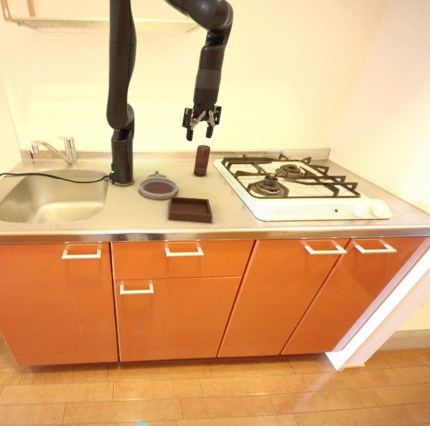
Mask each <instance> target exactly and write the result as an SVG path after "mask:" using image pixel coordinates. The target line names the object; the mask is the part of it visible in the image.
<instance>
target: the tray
mask: <svg viewBox="0 0 430 426" xmlns="http://www.w3.org/2000/svg"><path fill="white" fill-rule="evenodd" d="M168 206H169V208H168V220H169V221H179V222H180V221H182V222H191V223H192V222H193V223H206V224H211V223H212V220H213V212H212V209H211V204H210V200H209V198H197V197H184V196H173V197H170V198H169V205H168Z"/></svg>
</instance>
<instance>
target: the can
mask: <svg viewBox="0 0 430 426" xmlns="http://www.w3.org/2000/svg"><path fill="white" fill-rule="evenodd" d="M210 154H211V147H210V146H209V145H205V144H200V145H198V146H197V148H196V153H195V160H194V167H193V175H194V176H196V177H198V178H199V177H201V178H202V177H205V176H206V175H207V171H208V165H209V159H210Z"/></svg>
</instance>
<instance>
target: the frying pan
mask: <svg viewBox="0 0 430 426" xmlns="http://www.w3.org/2000/svg"><path fill="white" fill-rule="evenodd" d="M159 172H160V171H159V170H158V169H156V170H155V173H153V174H148V178H146V179H142V180H141V181H140V182H139V184H138V190H139V191H140V193H141V195H142V196H144V197H146V198H147V199H152V200H159V201H160V200H167V199H170V197H175V195H176V194H177V192H178V191H179V186H178V184H177V182H175V181H174V180H172V179H170V178H167V176H166V174H159Z"/></svg>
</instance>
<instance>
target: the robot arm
mask: <svg viewBox="0 0 430 426" xmlns="http://www.w3.org/2000/svg"><path fill="white" fill-rule="evenodd" d="M163 1H164V2H165V3H166V4H167V5H168V6H170V7H171V8H172V9H174V10H175V11H177V12H178V13H180V14H182V15H183V16H185V17H187V18H189V19H191V20H192V21H193V22H195V24H197V25H198V26H200V28H202V29H204V30H205V31H206V36H205V41H204V45H203V46H202V47H201V49H200V51H199V57H198V64H197V65H198V66H197V72H196V75H195V80H194V81H195V82H194V89H193V96H192V97H193V98H192V102H193V106H192V107H191V108H190V107H185V108H184V109H183V110H184V111H183V116H182V122H181V123H182V124H181V127H182V128H184V129H186V135H185V139H186V141H187V142H192V141H193V137H194V133H195V132H194V131H195V130H194V129H195V127H196V126H197V125H198V124H200V122H206V124H207V127H206V131H205V138H206V139H211V138H212V137H213V135H214V128H215V127H216V126H219V125H220V122H221V116H222V108H223V106H221V105H216V104H217V103H218V98H219V92H220V87H221V82H222V71H223V70H222V69H223V65H224V59H225V53H226V48H227V45H228V42H229V39H230V36H231V32H232V27H233V23H234V15H235V14H234V8H233V6H232V5H231V3H230V2H229V1H228V0H163ZM108 3H109V11H108V12H109V15H108V16H109V18H108V19H109V28H108V29H109V34H108V35H109V36H108V90H107V91H108V92H107V101H106V109H105V118H106V122H107V124H108V126H109V127H110V128H111V129H112V130H113V132H112V134H111V138H110V149H111V150H110V151H111V162H110V172H109V174H107V175H104V176H103V177H101V178H100V179H97V180H91V181H79V180H78V181H77V180H73V179H68V178H64V177H61V176H56V175H54V174H49V173H43V172H42V173H41V172H27V173H26V172H23V173H12V172H2V173H0V177H2V176H4V175H7V176H31V175H35V176H37V175H38V176H46V177H51V178H55V179H59V180H61V181H64V182H65V181H66V182H69V183H74V184H93V183H98V182H102V181H103V180H104V179H106V178H108V181H111V183H112V185H115V186H120V187H127V186H130V185H132V184H134V139H135V130H136V129H135V126H136V125H135V124H136V116H135V110H134V108H133V106H132V105H131V104H130V103H129V102H128V98H129V97H128V95H129V88H130V83H131V81H132V77H133V74H134V71H135V67H136V60H137V50H138V49H137V48H138V47H137V46H138V37H137V29H136V24H135V19H134V16H133V15H134V14H133V10H132V0H108Z"/></svg>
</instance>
